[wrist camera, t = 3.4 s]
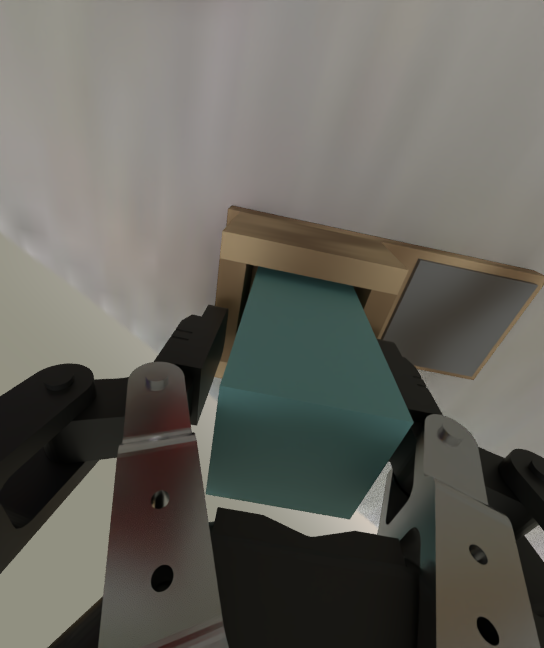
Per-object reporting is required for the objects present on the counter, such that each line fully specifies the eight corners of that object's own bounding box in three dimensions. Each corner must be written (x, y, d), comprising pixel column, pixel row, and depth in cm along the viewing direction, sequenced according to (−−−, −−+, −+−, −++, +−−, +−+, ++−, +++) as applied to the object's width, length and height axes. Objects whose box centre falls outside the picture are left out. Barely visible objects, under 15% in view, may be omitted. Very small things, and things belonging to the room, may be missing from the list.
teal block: (342, 263, 14) (413, 422, 6) (320, 329, 16) (349, 519, 8) (264, 246, 14) (220, 385, 6) (252, 315, 16) (205, 494, 8)
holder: (534, 270, 15) (630, 317, 11) (465, 369, 18) (516, 434, 14) (232, 205, 14) (205, 227, 10) (219, 320, 18) (195, 373, 14)
